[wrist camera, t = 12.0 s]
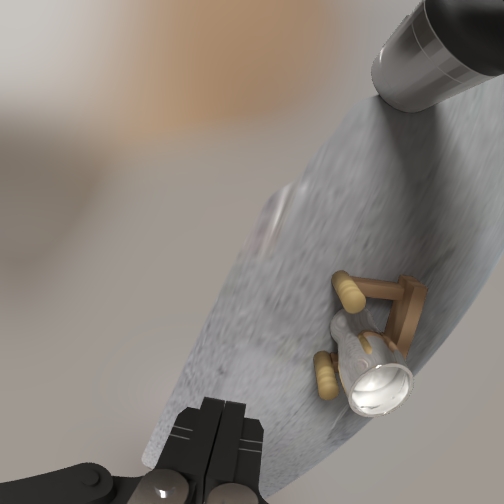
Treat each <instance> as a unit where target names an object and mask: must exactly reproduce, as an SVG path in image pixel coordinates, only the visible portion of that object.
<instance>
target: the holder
mask: <svg viewBox="0 0 504 504" xmlns="http://www.w3.org/2000/svg"><path fill="white" fill-rule="evenodd" d="M331 281H332V284H333V286H334V288H335V290H336V292H337V294H338V296H339V298H340V300H341V302H342V304H343V306H344V308H345V310H346V311H347V312H349V313H352V314H354V313H358V312H360V311H361V310H362V309H363V308H364V307H365V304H366V299H365V297H373V298H381V299H390V300H393V304H392V307H391V311H390V314H389V318H388V321H387V325H386V328H385V331H384V333H385V334H386V335H387V336H388V337H389V338H390V339H391V340H392V341H393V342H394V343H395V344H396V346H397V347H398V348H399V350H400V351H401V353H402V355H403V357H404V359H406V356H407V354H408V351H409V348H410V345H411V343H412V340H413V337H414V334H415V331H416V328H417V325H418V322H419V318H420V315H421V312H422V309H423V305H424V302H425V298H426V295H427V291H428V288H427V287H426V286H424V285H423V284H422V283H420V282H419V281H418V280H416V279H415V278H414V277H412V276H405V275H400V276H399V280H398V283H396V282H388V281H381V280H373V279H366V278H359V277H351V276H349V274H348V273H347V272H345V271H337V272H335V273H334V274H333V276H332V279H331ZM313 360H314V366H315V372H316V378H317V384H318V391H319V396H320V397H321V398H322V399H324V400H331V399H334V398H335V397H337V395H338V394H339V388H338V384H337V380H336V376H335V372H336V373H339V371H338V353H330V354H329V353H328V352H326V351H319V352H317V353H316V354H315V355H314V358H313Z"/></svg>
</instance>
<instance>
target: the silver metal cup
mask: <svg viewBox="0 0 504 504" xmlns="http://www.w3.org/2000/svg"><path fill="white" fill-rule="evenodd" d="M330 333H331V336H332V338H333V339H334V340H335V342H336V343H337V345H338V371H339V376H340V380H341V383H342V386H343V389H344V392H345V394H346V397H347V399H348V401H349V405H350V407H351V409H352V410H353V411H354V412H355V413H357V414H358V415H361V416H364V417H379V416H383V415H386V414H389V413H390V412H393V411H394V410H396V409H397V408H399V407H400V406H401V405H402V404H403V403H404V402H405V401H406V400H407V399H408V397H409V396H410V394H411V392H412V389H413V384H414V379H413V375H412V373H411V371H410V369H409V367H408V365H407V363H406V361H405V359H404V357H403V355H402V353H401V351H400V350H399V348H398V347H397V346H396V344H395V343H394V342H393V341H392V340H391V339H390V338H389V337H388V336H387V335H386V334H385V333H383V332H382V331H381V330H379V329H378V328H377V327H376V326H375V324H374V319H373V316H372V314H371V313H370V312H369V310H367V309H366V308H365V307H364V308H363V309H362V310H361V311H360V312H358V313H354V314H352V313H349V312H347V311H346V310H345V308H342V309H340V310H339V311H338V312H337V313H336V314H335V315H334V317H333V318H332V320H331V324H330Z"/></svg>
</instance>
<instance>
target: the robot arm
mask: <svg viewBox="0 0 504 504" xmlns="http://www.w3.org/2000/svg"><path fill="white" fill-rule="evenodd" d="M502 74H504V0H422V1H421V2H420V3H419V4H418V5H417V7H416V8H415V9H414V11H413V12H412V13H411V14H410V15H407V16H406V17H405V18H404V19H403V21H402V22H401V23H400V25H399V26H398V27H397V29H396V30H395V31H394V32H393V34H392V35H391V36H390V38H389V39H388V40H387V41H386V43H385V44H384V46H383V49H382V51H381V52H380V53H379V54H378V56H377V57H376V58H375V60H374V62H373V65H372V71H371V75H372V81H373V83H374V86H375V88H376V90H377V92H378V93H379V95H380V96H381V97H382V98H383V100H385V101H386V102H387V103H388V104H389V105H391V106H392V107H394V108H395V109H398V110H400V111H403V112H408V113H416V112H419V111H422V110H424V109H426V108H428V107H431V106H433V105H435V104H437V103H439V102H441V101H443V100H446V99H448V98H450V97H452V96H454V95H456V94H459V93H461V92H463V91H465V90H467V89H470V88H472V87H474V86H476V85H479V84H481V83H483V82H485V81H487V80H490V79H492V78H494V77H497V76H499V75H502ZM224 405H225V407H224ZM245 408H246V404H243V403H237V402H231V401H226V403H225V400H220V399H214V398H209V397H204V399H203V402H202V405H201V408H200V409H195V408H191V407H187V408H186V409H185V410H183V411H182V412H181V413H180V414H178V416H177V418H176V421H175V423H174V426H173V428H172V430H171V432H170V435H169V437H168V439H167V441H166V444H165V446H164V448H163V450H162V453H161V455H160V457H159V460H158V462H157V464H156V466H155V468H154V469H153V470H152V471H149V472H148V473H146V474H145V475H144V476H140V477H119V476H111V474H110V472H109V471H108V470H107V469H106V468H104V467H103V466H101V465H99V464H95V463H81V464H78V465H74V466H71V467H67V468H64V469H60V470H57V471H53V472H49V473H45V474H41V475H37V476H33V477H29V478H25V479H20V480H15V481H10V482H4V483H0V504H268V503H267V502H266V501H265V500H264V499H263V498H262V496H261V495H260V492H259V488H258V485H259V475H260V465H261V455H262V443H263V433H264V430H263V428H262V426H261V423H260V421H259V420H257V419H250V418H244V414H245ZM204 501H205V503H204Z"/></svg>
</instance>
